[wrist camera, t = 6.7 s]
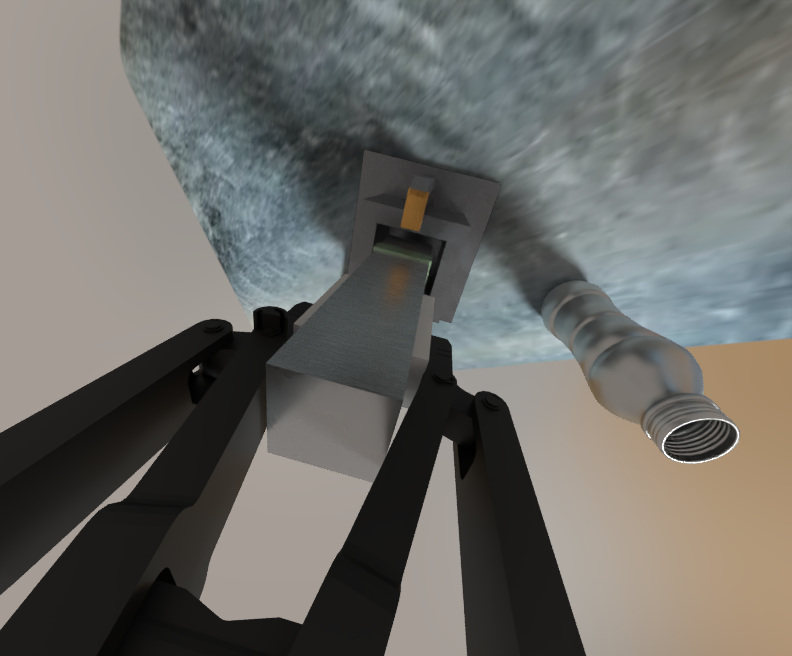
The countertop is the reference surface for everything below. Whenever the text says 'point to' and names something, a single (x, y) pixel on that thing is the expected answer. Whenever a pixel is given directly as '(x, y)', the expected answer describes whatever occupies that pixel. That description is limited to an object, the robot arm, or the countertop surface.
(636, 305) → the countertop surface
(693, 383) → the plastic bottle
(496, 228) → the countertop surface
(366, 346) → the column
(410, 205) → the stand
